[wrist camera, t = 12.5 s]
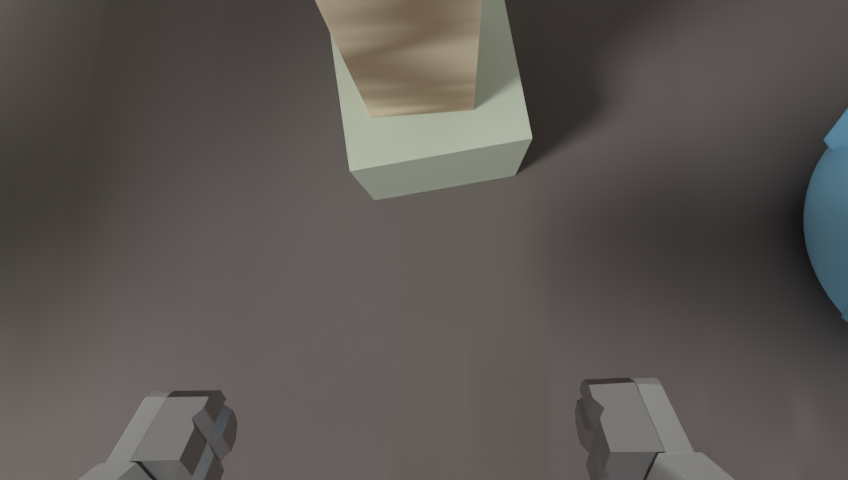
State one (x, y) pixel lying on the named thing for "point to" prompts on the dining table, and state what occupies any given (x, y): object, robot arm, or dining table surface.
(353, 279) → the dining table surface
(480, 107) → the sage cube
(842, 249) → the teapot
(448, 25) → the beech block
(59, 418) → the dining table surface
